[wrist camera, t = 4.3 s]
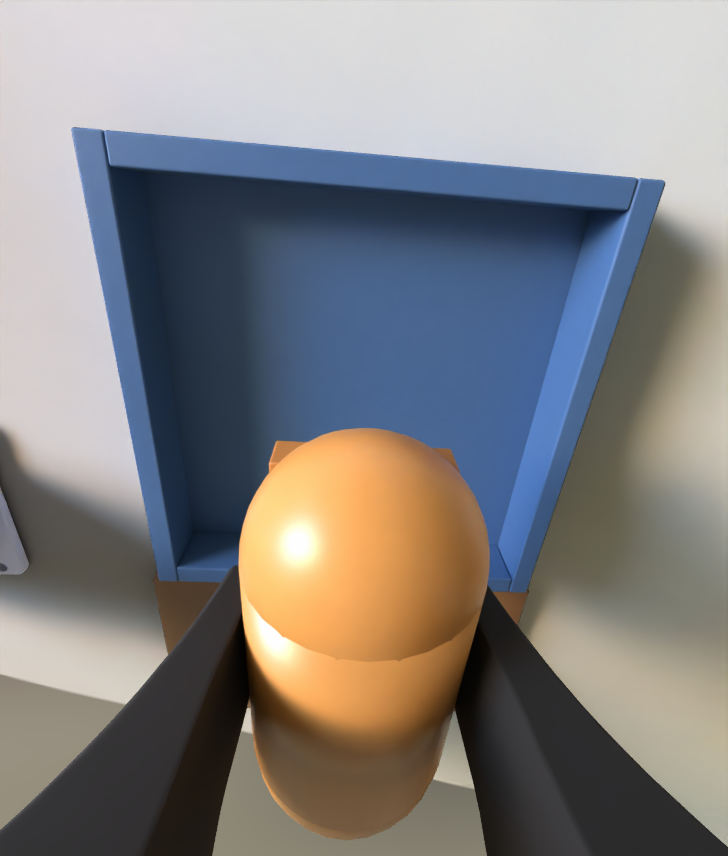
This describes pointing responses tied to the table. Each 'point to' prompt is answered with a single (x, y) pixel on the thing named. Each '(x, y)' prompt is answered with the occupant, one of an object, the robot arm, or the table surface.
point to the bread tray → (352, 320)
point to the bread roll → (358, 622)
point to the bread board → (190, 598)
